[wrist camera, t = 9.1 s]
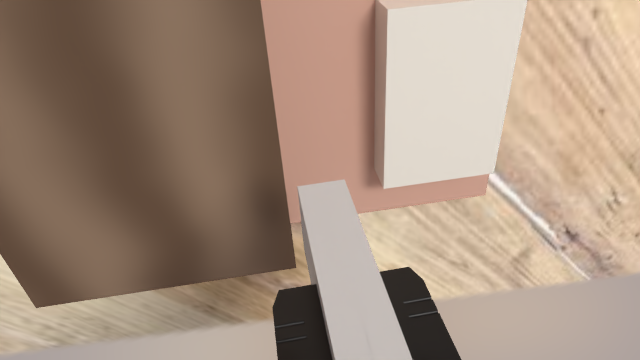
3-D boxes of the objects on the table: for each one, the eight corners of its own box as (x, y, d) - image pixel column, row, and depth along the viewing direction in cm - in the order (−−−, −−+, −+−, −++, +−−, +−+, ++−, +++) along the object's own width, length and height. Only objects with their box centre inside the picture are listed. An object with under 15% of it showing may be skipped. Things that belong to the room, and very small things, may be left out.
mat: (289, 219, 26) (289, 223, 26) (250, -69, 18) (250, -67, 17) (482, 191, 27) (485, 195, 27) (534, -94, 19) (539, -93, 18)
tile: (493, 173, 24) (477, 153, 25) (528, -6, 18) (505, -16, 20) (383, 188, 23) (374, 168, 25) (387, 9, 18) (375, -2, 20)
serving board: (62, 252, 25) (36, 307, 22) (-97, -38, 17) (-178, -16, 13) (289, 219, 26) (296, 267, 23) (250, -69, 18) (253, -55, 15)
